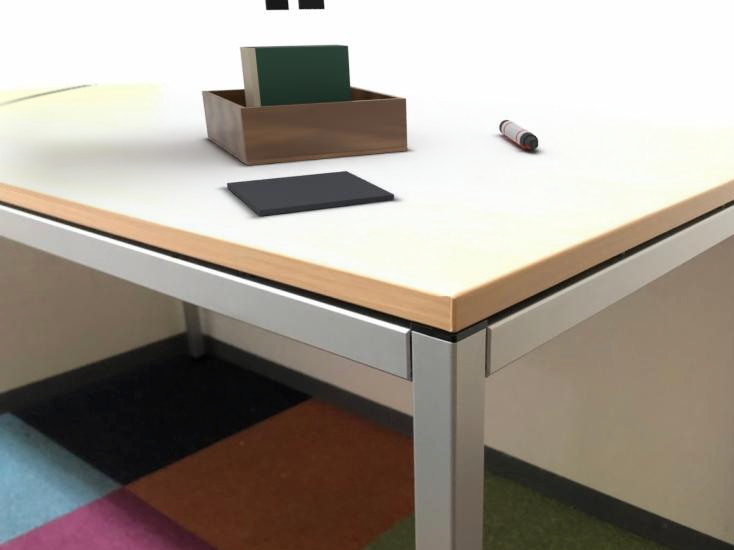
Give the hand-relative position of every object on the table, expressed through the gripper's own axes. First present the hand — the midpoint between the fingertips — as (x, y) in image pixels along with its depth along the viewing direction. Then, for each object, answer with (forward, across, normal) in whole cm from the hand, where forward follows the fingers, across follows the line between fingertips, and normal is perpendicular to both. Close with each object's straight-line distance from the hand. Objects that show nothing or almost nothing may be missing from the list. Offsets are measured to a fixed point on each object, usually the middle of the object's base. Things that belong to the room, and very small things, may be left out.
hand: (293, 10), depth 87 cm
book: (+15, 0, 0) cm, 15 cm away
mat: (+16, -27, +8) cm, 32 cm away
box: (+15, 0, 0) cm, 15 cm away
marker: (+16, -13, -24) cm, 31 cm away
